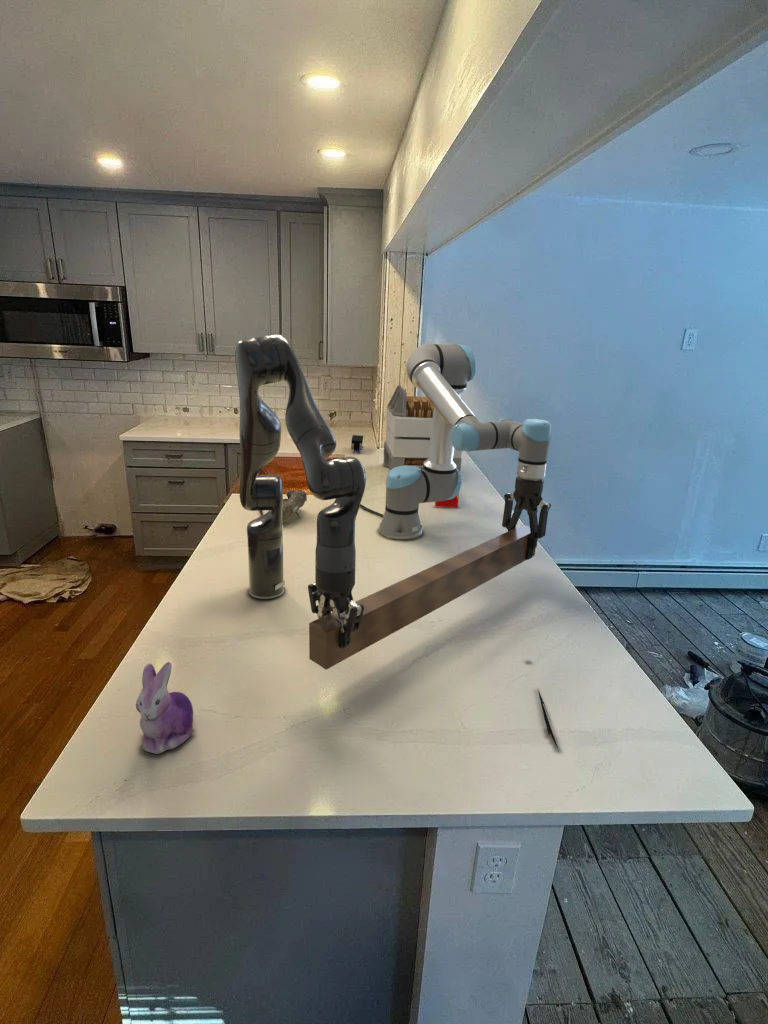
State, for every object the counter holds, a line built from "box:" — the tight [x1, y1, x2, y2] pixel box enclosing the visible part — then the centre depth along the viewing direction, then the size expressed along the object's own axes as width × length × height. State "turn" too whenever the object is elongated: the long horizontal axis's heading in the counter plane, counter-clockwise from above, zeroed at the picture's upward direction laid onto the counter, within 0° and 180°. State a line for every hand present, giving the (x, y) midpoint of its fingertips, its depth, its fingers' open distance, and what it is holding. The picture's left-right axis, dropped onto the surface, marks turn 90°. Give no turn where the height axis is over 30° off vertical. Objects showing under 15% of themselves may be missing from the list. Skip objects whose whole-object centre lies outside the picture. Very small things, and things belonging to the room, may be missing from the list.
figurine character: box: [350, 434, 364, 454], centre depth 311 cm, size 7×8×15 cm
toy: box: [434, 492, 460, 508], centre depth 240 cm, size 12×13×30 cm
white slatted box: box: [383, 384, 463, 475], centre depth 268 cm, size 34×33×41 cm
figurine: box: [135, 661, 194, 755], centre depth 100 cm, size 9×10×15 cm
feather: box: [528, 660, 560, 749], centre depth 116 cm, size 2×28×2 cm
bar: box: [308, 524, 537, 670], centre depth 136 cm, size 80×5×8 cm, turn 137°
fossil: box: [282, 489, 308, 524], centre depth 209 cm, size 22×10×15 cm
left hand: (334, 640), depth 112 cm, fingers closed on bar, 5 cm apart
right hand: (519, 554), depth 162 cm, fingers closed on bar, 5 cm apart
